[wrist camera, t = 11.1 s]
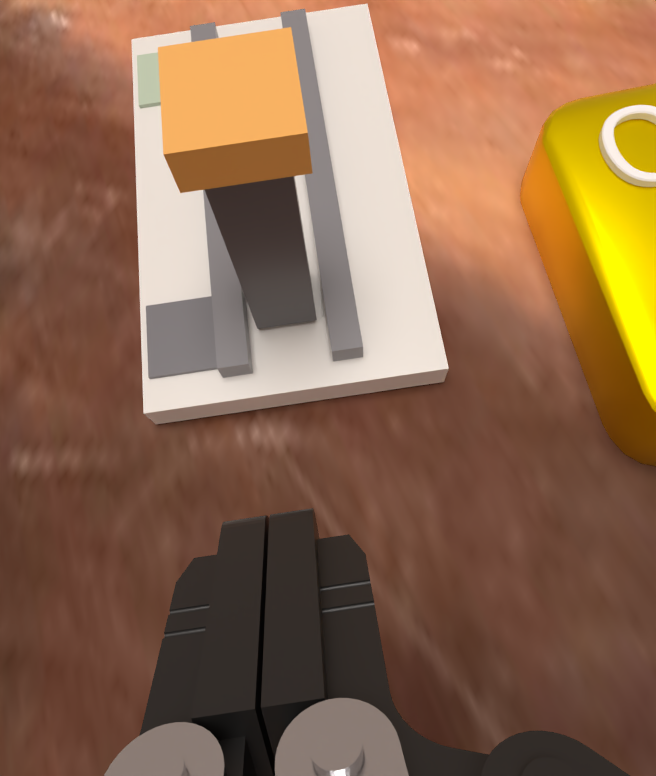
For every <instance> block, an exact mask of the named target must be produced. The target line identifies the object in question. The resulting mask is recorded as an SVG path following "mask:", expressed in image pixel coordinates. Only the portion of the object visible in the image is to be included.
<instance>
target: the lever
mask: <svg viewBox="0 0 656 776" xmlns="http://www.w3.org/2000/svg"><path fill="white" fill-rule="evenodd" d="M158 63H159V82H160V101H161V120H162V139H163V155H164V157H165V159H166V162H167V164H168V166H169V168H170V171H171V173H172V175H173V178H174V180H175V182H176V184H177V187H178V189H179V191H180V193H185V192H191V191H198V190H205V192H206V195H207V198H208V200H209V203H210V206H211V208H212V211H213V214H214V216H215V219H216V221H217V224H218V227H219V229H220V232H221V235H222V237H223V240H224V242H225V245H226V248H227V250H228V253H229V256H230V258H231V261H232V263H233V266H234V269H235V271H236V274H237V277H238V279H239V282H240V284H241V287H242V290H243V292H244V295H245V298H246V300H247V303H248V305H249V308H250V311H251V313H252V316H253V319H254V321H255V324H256V326H257V329H261V328H268V327H275V326H282V325H288V324H295V323H302V322H309V321H315V320H317V318H316V311H315V304H314V298H313V291H312V284H311V277H310V270H309V264H308V257H307V251H306V245H305V239H304V232H303V226H302V220H301V213H300V207H299V201H298V195H297V188H296V182H295V176H298V175H305V174H312V173H313V172H312V164H311V155H310V147H309V138H308V131H307V124H306V118H305V112H304V105H303V99H302V93H301V86H300V80H299V74H298V67H297V61H296V55H295V49H294V42H293V36H292V30H291V27H288V28H281V29H275V30H268V31H262V32H255V33H248V34H242V35H235V36H228V37H222V38H215V39H208V40H202V41H195V42H189V43H182V44H175V45H169V46H162V47H158Z"/></svg>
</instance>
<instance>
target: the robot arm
mask: <svg viewBox="0 0 656 776" xmlns="http://www.w3.org/2000/svg"><path fill="white" fill-rule="evenodd" d="M164 634H165V638H164V639H163V640H162V644H161V648H160V653H159V657H158V661H157V665H156V670H155V674H154V678H153V682H152V686H151V691H150V695H149V699H148V703H147V708H146V712H145V716H144V720H143V724H142V729H141V732H140V735H139V737H137V738H136V739H134V740H133V741H132V742H131V743H130V744H128V745H127V746H126V747H125V748H124V749H123V750H122V751H121V752H120V753H119V754H118V755H117V757H116V758H115V759H114V761H113V762H112V763H111V765H110V766H109V768H108V770H107V771H106V773H105V775H104V776H630V775H628V774H627V773H625V772H624V771H622V770H621V769H619V768H618V767H616V766H615V765H614V764H612V763H611V762H609V761H608V760H606V759H605V758H603V757H602V756H600V755H599V754H597V753H596V752H595V751H593V750H592V749H590V748H589V747H587V746H585V745H584V744H582V743H580V742H579V741H577V740H574V739H572V738H570V737H567V736H565V735H561V734H558V733H554V732H547V731H528V732H523V733H518V734H516V735H513V736H511V737H509V738H507V739H505V740H504V741H502V742H501V743H500V744H499V745H497V746H496V747H495V748H494V749H493V750H492V752H491V753H490V755H488V754H482V753H477V752H471V751H466V750H461V749H455V748H451V747H447V746H443V745H439V744H437V743H435V742H432V741H430V740H428V739H426V738H425V737H423V736H421V735H419V734H418V733H417V732H416V731H414V730H413V729H412V728H411V727H409V725H408V724H407V723H406V722H405V721H404V720H403V719H402V718H401V716H400V715H399V713H398V712H397V710H396V708H395V706H394V704H393V701H392V698H391V695H390V691H389V685H388V679H387V674H386V668H385V662H384V657H383V651H382V645H381V640H380V634H379V628H378V623H377V617H376V611H375V606H374V600H373V594H372V589H371V584H370V577H369V572H368V566H367V560H366V555H365V553H364V552H363V551H362V550H361V548H360V547H359V546H358V545H357V544H356V542H355V541H354V540H353V539H352V538H351V537H350V535H343V536H336V537H329V538H323V539H319V534H318V528H317V523H316V517H315V513H314V509H313V508H312V509H305V510H299V511H292V512H285V513H279V514H272V515H270V517H268V516H260V517H254V518H247V519H240V520H234V521H227V522H223V524H222V528H221V534H220V540H219V546H218V552H217V555H211V556H205V557H198V558H194V559H193V560H192V562H191V563H190V564H189V566H188V567H187V569H186V570H185V571H184V573H183V574H182V575H181V577H180V578H179V579H178V581H177V582H176V585H175V589H174V594H173V598H172V602H171V606H170V615H168V619H167V623H166V627H165V632H164Z"/></svg>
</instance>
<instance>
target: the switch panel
mask: <svg viewBox="0 0 656 776" xmlns="http://www.w3.org/2000/svg"><path fill="white" fill-rule="evenodd" d="M288 27H291V30H292V36H293V42H294V49H295V55H296V61H297V67H298V74H299V80H300V86H301V93H302V99H303V105H304V112H305V118H306V124H307V131H308V138H309V147H310V155H311V164H312V172H313V173H312V174H305V175H298V176H295V182H296V188H297V195H298V201H299V207H300V213H301V220H302V226H303V232H304V239H305V245H306V251H307V257H308V264H309V270H310V277H311V284H312V291H313V298H314V304H315V311H316V318H317V320H315V321H309V322H302V323H295V324H288V325H282V326H275V327H268V328H261V329H257V326H256V324H255V321H254V319H253V316H252V313H251V311H250V308H249V305H248V303H247V300H246V298H245V295H244V292H243V290H242V287H241V284H240V282H239V279H238V277H237V274H236V271H235V269H234V266H233V263H232V261H231V258H230V256H229V253H228V250H227V248H226V245H225V242H224V240H223V237H222V235H221V232H220V229H219V227H218V224H217V221H216V219H215V216H214V214H213V211H212V208H211V206H210V203H209V200H208V198H207V195H206V192H205V190H198V191H191V192H185V193H180V191H179V189H178V187H177V184H176V182H175V180H174V178H173V175H172V173H171V171H170V168H169V166H168V164H167V162H166V159H165V157H164V155H163V139H162V120H161V101H160V82H159V63H158V47H162V46H169V45H175V44H182V43H189V42H195V41H202V40H208V39H215V38H222V37H228V36H235V35H242V34H248V33H255V32H262V31H268V30H275V29H281V28H288ZM132 64H133V96H134V127H135V158H136V190H137V221H138V252H139V283H140V315H141V346H142V377H143V409H144V414H145V415H146V416H147V417H148V418H149V419H150V420H152V421H153V422H154V423H155V424H163V423H169V422H176V421H183V420H190V419H197V418H203V417H210V416H217V415H224V414H230V413H237V412H244V411H251V410H257V409H264V408H271V407H278V406H285V405H291V404H298V403H305V402H312V401H318V400H325V399H332V398H339V397H345V396H352V395H359V394H366V393H373V392H379V391H386V390H393V389H400V388H406V387H413V386H420V385H427V384H433V383H440V382H444V380H445V377H446V374H447V372H448V369H449V368H448V363H447V359H446V354H445V350H444V345H443V341H442V336H441V332H440V327H439V323H438V318H437V314H436V309H435V305H434V300H433V296H432V292H431V287H430V283H429V278H428V274H427V269H426V265H425V260H424V256H423V251H422V247H421V242H420V238H419V233H418V229H417V224H416V220H415V215H414V211H413V206H412V202H411V197H410V193H409V188H408V184H407V179H406V175H405V170H404V166H403V161H402V157H401V152H400V148H399V144H398V139H397V135H396V130H395V126H394V121H393V117H392V112H391V108H390V103H389V99H388V94H387V90H386V85H385V81H384V76H383V72H382V67H381V63H380V58H379V54H378V49H377V45H376V40H375V36H374V31H373V27H372V22H371V18H370V13H369V9H368V4H362V5H355V6H348V7H342V8H335V9H329V10H322V11H315V12H309V13H306V12H305V9H300V10H294V11H287V12H281V17H276V18H269V19H262V20H256V21H249V22H242V23H236V24H229V25H223V26H216V25H215V22H214V23H208V24H201V25H194V26H190V30H189V31H183V32H176V33H170V34H163V35H156V36H150V37H143V38H136V39H132Z"/></svg>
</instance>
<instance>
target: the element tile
mask: <svg viewBox="0 0 656 776" xmlns="http://www.w3.org/2000/svg"><path fill="white" fill-rule="evenodd" d="M520 199H521V205H522V207H523V210H524V213H525V216H526V218H527V221H528V224H529V226H530V229H531V232H532V235H533V237H534V240H535V243H536V245H537V248H538V251H539V253H540V256H541V259H542V262H543V264H544V267H545V270H546V272H547V275H548V278H549V281H550V283H551V286H552V289H553V291H554V294H555V297H556V299H557V302H558V305H559V308H560V310H561V313H562V316H563V318H564V321H565V324H566V326H567V329H568V332H569V335H570V337H571V340H572V343H573V345H574V348H575V351H576V354H577V356H578V359H579V362H580V364H581V367H582V370H583V372H584V375H585V378H586V381H587V383H588V386H589V389H590V391H591V394H592V397H593V399H594V402H595V405H596V408H597V410H598V413H599V416H600V418H601V421H602V424H603V426H604V428H605V430H606V431H607V433H608V435H609V437H610V438H611V440H612V441H613V442H614V443H615V444H616V445H617V446H618V447H619V449H620V450H621V451H622V452H623V453H624V454H625V455H627V456H629V457H631V458H633V459H634V460H636V461H638V462H640V463H642V464H647V465H652V466H656V84H651V85H646V86H641V87H636V88H631V89H626V90H621V91H615V92H610V93H605V94H600V95H595V96H590V97H585V98H580V99H577V100H574V101H571V102H568V103H566V104H564V105H562V106H561V107H559V108H558V109H556V110H554V111H553V112H552V113H551V114H550V116H549V117H548V118H547V120H546V121H545V123H544V124H543V126H542V129H541V131H540V134H539V137H538V139H537V142H536V145H535V148H534V150H533V153H532V156H531V158H530V161H529V164H528V166H527V169H526V172H525V175H524V177H523V180H522V184H521V192H520Z"/></svg>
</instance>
